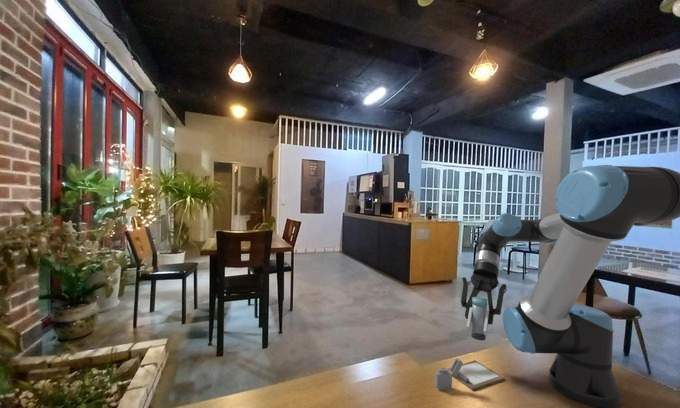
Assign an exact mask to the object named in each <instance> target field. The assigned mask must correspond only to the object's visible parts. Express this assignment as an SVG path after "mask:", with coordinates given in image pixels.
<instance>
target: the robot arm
mask: <svg viewBox="0 0 680 408" xmlns="http://www.w3.org/2000/svg"><path fill="white" fill-rule="evenodd" d="M555 199H556V200H557V201H556V202H555V206H556V207H555V208H556V209H557V211H558V213H554V214H551V215H549V216H545V217H542V218H539V219H520V218H519V217H518V216H517V215H515V214H512V213H508V212H506V213H505V212H504V213H502V214H501V213H500V215H498V217H496V219H494V220H493V221H492V224H491V225H490V226H489V227H487V228H484V229H482V230H481V232H480V235H479V237H478V243H477V250H476V255H475V260H474V265H473V270H472V271H473V272H472V275H471V276H470V277H462V282H463V283H462V284H463V285H462V291H461V297H460V298H461V299H460V305H461V306H462V308H465V312H464V317H465V319H467V322H466V330H467V331H468V332H470V331H471V330H472V297H478V295H479V293H480V292H484V293H486V294H487V306H488V310H487V311H486V315H485V322H484V329H483V332H484V335H486V336H488V329H489V325H493V322H494V316H495V315H498V316H500V315H501V314H502V324H503V328H504V332H505V334H506V337H507V339H508V341H509V343H510V344H511V345H512V347H514V349H516V350H517V351H519V352H520V353H521V352H522V353H529V354H531V355H534V354H556V355H555V357H554V359H553V361H552V363H551V366H550V368H549V371H548V382H549V383H550V385H552V386H553V388H555V389H556V390H558V391H559V392H560V393H562V394H564V395H565V396H567V397H569V398H571V399H573V400H575V401H578V402H580V403H583V404H584V405H589V406H591V407H595V408H596V407H597V408H619V406H621V404H622V403H621V402H622V401H621V399H622V397H621V391H620V388H619V386H618V382H617V380H616V378H615V376H614V373H613V343H614V341H613V339H614V337H613V336H614V331H615V330H614V329H613V318H612V317H611V316H610V315H609V314H608V313H606V312H605V311H603V310H601V309H597V308H595V307H591V306H588V305H585V304H581V303H577V302H576V301H578V298H579V296H580V295H581V294H582V292H583V290H584V288H585V287H586V285H587V283H588V281H589V280H590V278H591V277H592V275H593V274H594V271H595V270H596V269H597V267H598V265H599V263H600V262H601V260H602V258H603V256H604V255H605V253H606V252H607V250H608V248H609V246H610V245H611V244H612V242H617V241H623V240H625V238H627V236H628V234H629V232H630V231H631V230H632V228H633V226H635V227H641V226H646V225H652V224H658V223H667V222H670V221H673V220H676V219H679V218H680V172H678V171H675V170H673V169H671V168H667V167H662V166H629V165H628V166H627V165H625V166H624V165H611V164H600V165H586V166H583V167H580V168H578V169H574V170H572V171H571V172H569V173H568V174H567V175H566V176H565V177H564V178H563V179H562V180H561V182H560V183H559V185H558V186H557V190H556V193H555ZM510 242H521V243H522V242H524V243H529V242H530V243H544V244H547V243H548V244H550V243H555V244H554V245H553V248H552V249H551V251H550V254H549V256H548V257H547V260H546V262H545V264H544V266H543V268H542V270H541V272H540V274H539V276H538V278H537V281H536V283H535V285H534V287H533V289H532V290H531V292H530V294H526V295H523V296H522V297H521V298H520V299H519V302H518V304H517V306H510V307H509V306H508V307H506V308H505V309H503V312H502V308H503V302H504V296H505V293H506V292H507V290H508V289H507V287H508V286H507V284H505V283H501V282H499V279H498V277H499V268H500V260H501V254H502V253H501V252H502V250H503V249H504V248H505V247H506V245H507V244H508V243H510ZM471 284H472V285H473V288H472V292H471V293H470V295H469V298H468V291H469V286H470V285H471ZM496 288H497V289H498V295H497V301H496V305H495V308H494V303H493V296H492V293H493V292H492V291H494V290H495V289H496ZM467 298H468V300H467Z"/></svg>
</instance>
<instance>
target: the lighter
mask: <svg viewBox="0 0 680 408" xmlns="http://www.w3.org/2000/svg"><path fill="white" fill-rule="evenodd" d="M463 364H464V363H463V361H462V360H461V359H460V358H457V357H456V358H455V360H454V362H453V364H452V365H451V366H450V368H451V369H450V371H448V370H447V368H446V367H439V369H438V370H435V371H434V372H435V373H434V387H436V388H437V389H439V390H438V391H452V389H453V388H452V386H453V376H452V374H453V375H454V376H457V375H458V373H459V371H460V369H461V367H462V365H463ZM436 388H435V389H436ZM437 389H436V390H437Z"/></svg>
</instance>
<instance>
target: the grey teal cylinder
mask: <svg viewBox="0 0 680 408" xmlns="http://www.w3.org/2000/svg"><path fill="white" fill-rule="evenodd" d="M487 306H488V298H485V297H480V296H477V297H472V323H471V337H472V338H473V339H475V340H477V341H486V339H487V335H484V332H483V329H484V322H485V315H486V311H488V310H487V309H488V308H487Z"/></svg>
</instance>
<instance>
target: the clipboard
mask: <svg viewBox="0 0 680 408" xmlns="http://www.w3.org/2000/svg"><path fill="white" fill-rule="evenodd" d="M450 369H451V367H448V368H447V370H448V371H450ZM452 378H454V379H456V381H458V382H460V383H461V384H462V385H464V386H465V387H467V388H468V389H469V390H471V391H472V392H474V391H477V390H480V389H482V388H485V387H488V386H492V385H494V384H496V383H499V382H502V381H505V377H504V376H502V375H501V374H499V373H497V372H496V371H494V370H493V369H491V368H489V367H488V366H486V365H484V364H482V363H480V362H479V361H477V360H475V359H474V360H472V361H468V362H465V363H463V365H462V367H461V369H460V371H459V373H458V375H457V376H454V375H453V374H452Z"/></svg>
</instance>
